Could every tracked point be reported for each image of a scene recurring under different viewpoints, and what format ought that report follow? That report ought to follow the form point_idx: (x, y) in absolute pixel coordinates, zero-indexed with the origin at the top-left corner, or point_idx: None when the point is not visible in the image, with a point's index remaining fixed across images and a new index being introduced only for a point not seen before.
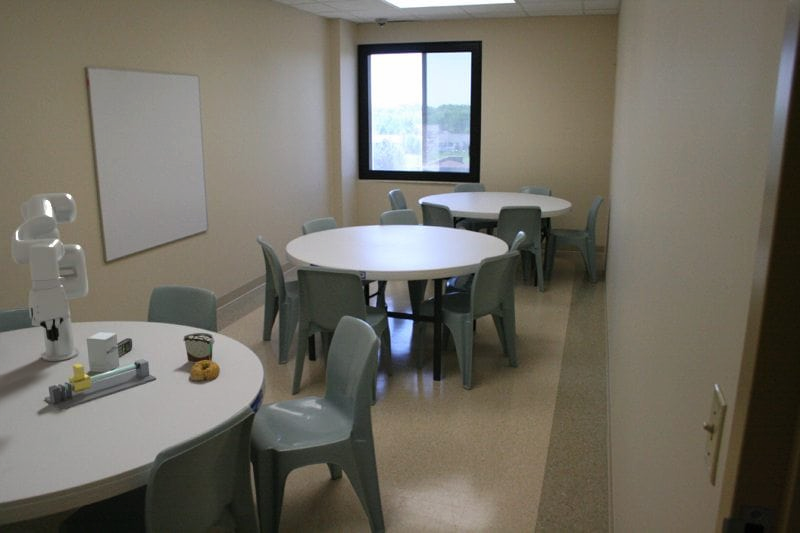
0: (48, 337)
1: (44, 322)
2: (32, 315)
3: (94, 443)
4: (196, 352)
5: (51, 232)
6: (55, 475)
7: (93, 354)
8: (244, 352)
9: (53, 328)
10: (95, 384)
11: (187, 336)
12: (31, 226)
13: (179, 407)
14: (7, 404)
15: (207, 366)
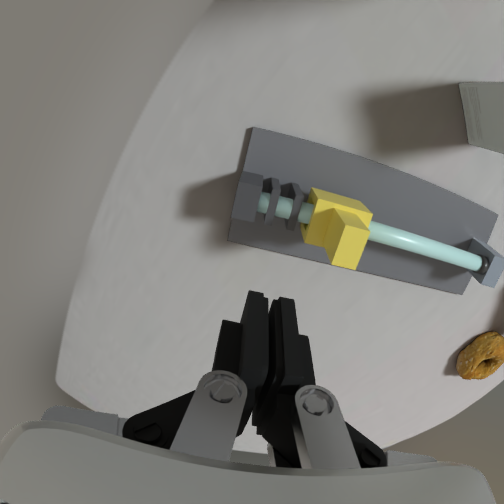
0: (215, 352)
1: (196, 441)
2: (24, 463)
3: (179, 393)
4: None
5: None
6: (105, 399)
7: (497, 106)
8: None
9: (265, 412)
10: (394, 188)
11: None
12: None
13: (348, 409)
14: (173, 63)
15: (492, 360)
